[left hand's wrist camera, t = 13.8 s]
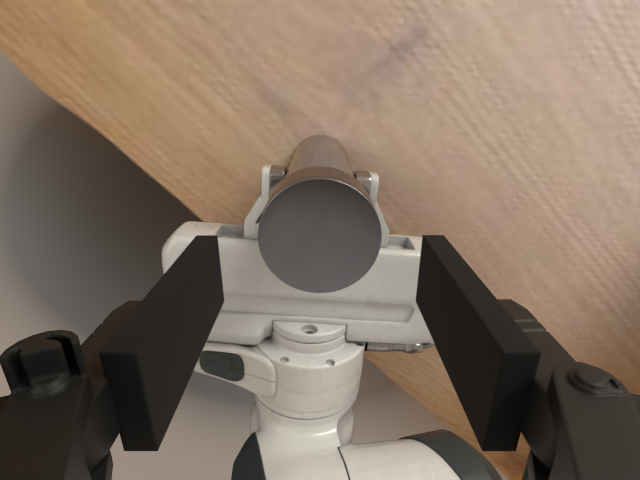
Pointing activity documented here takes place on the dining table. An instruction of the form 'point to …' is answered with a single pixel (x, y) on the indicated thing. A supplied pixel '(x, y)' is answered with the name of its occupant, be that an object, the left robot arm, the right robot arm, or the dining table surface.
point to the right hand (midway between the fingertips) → (320, 169)
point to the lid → (319, 230)
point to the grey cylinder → (319, 155)
